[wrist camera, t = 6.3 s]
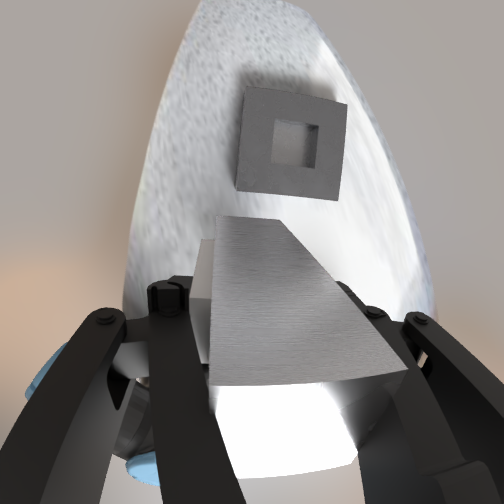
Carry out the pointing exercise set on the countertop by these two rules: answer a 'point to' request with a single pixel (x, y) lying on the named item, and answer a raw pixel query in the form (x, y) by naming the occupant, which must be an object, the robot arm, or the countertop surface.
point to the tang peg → (289, 355)
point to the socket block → (290, 144)
